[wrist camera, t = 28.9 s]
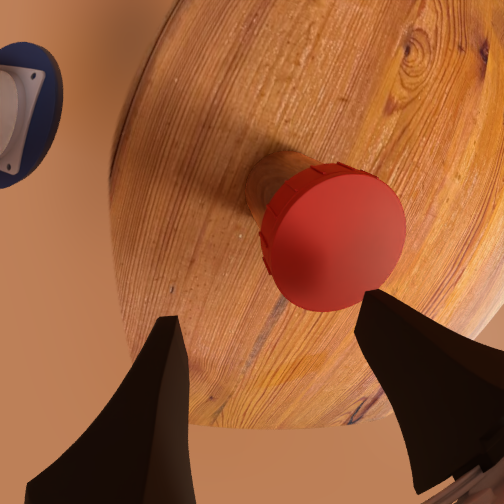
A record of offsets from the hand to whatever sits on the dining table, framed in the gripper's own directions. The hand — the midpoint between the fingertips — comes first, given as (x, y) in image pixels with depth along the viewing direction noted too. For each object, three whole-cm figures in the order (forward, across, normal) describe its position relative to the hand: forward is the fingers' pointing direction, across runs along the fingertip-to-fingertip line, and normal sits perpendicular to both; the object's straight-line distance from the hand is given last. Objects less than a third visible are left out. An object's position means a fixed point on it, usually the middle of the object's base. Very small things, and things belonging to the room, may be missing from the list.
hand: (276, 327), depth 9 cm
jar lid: (+2, -3, -2) cm, 4 cm away
